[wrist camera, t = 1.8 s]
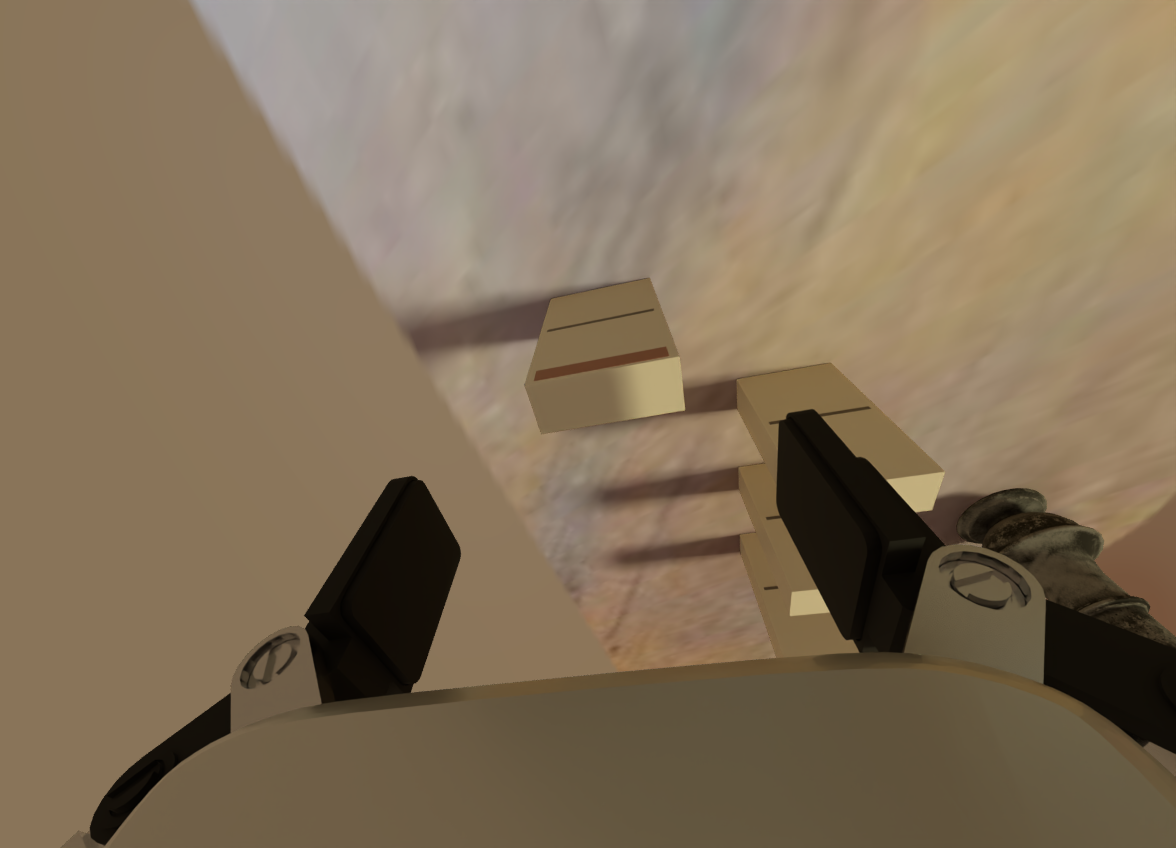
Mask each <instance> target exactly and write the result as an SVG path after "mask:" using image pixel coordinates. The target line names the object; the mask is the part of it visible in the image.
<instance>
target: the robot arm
mask: <svg viewBox="0 0 1176 848" xmlns="http://www.w3.org/2000/svg"><path fill="white" fill-rule="evenodd" d="M776 505H777V509H778V512H779V515H780V517H781V519H782V521H783V523H784V525H785V527H786V529H787V530H788V532H789V534H790V536H791V538H792V540H793V542H794V544H795V546H796V548H797V550H798V552H799V554H800V556H801V558H802V560H803V561H804V563H805V565H806V567H807V569H808V571H809V573H810V575H811V577H812V579H813V581H814V583H815V585H816V587H817V589H818V591H819V592H820V594H821V596H822V598H823V600H824V602H825V604H826V606H827V608H828V610H829V612H830V614H831V616H832V618H833V620H834V622H835V623H836V625H837V627H838V629H839V631H840V633H841V635H842V636H843V637H844V639H846V640H853V641H854V643H855V645H856V647H857V649H858V651H859V652H860V653H837V654H823V655H810V656H796V657H783V658H769V659H756V660H745V661H734V662H723V663H712V664H701V665H691V666H680V667H669V668H658V669H647V670H636V671H625V672H615V673H605V674H594V675H584V676H573V677H564V678H553V679H543V680H532V681H523V682H513V683H502V684H492V685H482V686H474V687H473V686H472V687H463V688H453V689H443V690H434V691H424V692H414V693H411V690H412V687H413V684H414V683H416V682H418V680H419V679H420V677H421V674H422V671H423V668H424V665H425V662H426V659H427V656H428V653H429V650H430V647H431V644H432V641H433V638H434V636H435V632H436V630H437V627H438V624H439V621H440V618H441V615H442V611H443V609H444V606H445V602H446V600H447V597H448V594H449V591H450V588H451V585H452V582H453V579H454V576H455V573H456V570H457V567H458V564H459V561H460V557H461V551H460V546H459V544H458V542H457V541H456V539H455V537H454V535H453V533H452V532H451V530H450V528H449V526H448V524H447V523H446V521H445V519H444V517H443V515H442V514H441V512H440V510H439V508H438V507H437V505H436V503H435V501H434V500H433V498H432V496H431V494H430V492H429V490H428V489H427V487H426V485H425V483H424V482H423V481H421V480H418V479H417V478H416V477H414V476H409V477H404V478H398V479H393V480H391V481H390V482H389V483H388V484H387V486H386V488H385V489H384V491H383V492H382V494H381V495H380V497H379V498H378V500H377V502H376V503H375V505H374V506H373V508H372V510H371V511H370V513H369V514H368V516H367V517H366V519H365V521H364V522H363V524H362V526H361V527H360V528H359V530H358V532H357V533H356V535H355V536H354V538H353V539H352V541H351V543H350V544H349V546H348V547H347V549H346V551H345V552H344V554H343V555H342V557H341V558H340V560H339V562H338V563H337V565H336V566H335V568H334V569H333V571H332V573H331V574H330V576H329V577H328V579H327V580H326V582H325V584H324V585H323V587H322V588H321V590H320V591H319V593H318V595H317V596H316V598H315V599H314V601H313V602H312V604H311V606H310V607H309V609H308V611H307V612H306V614H305V615H304V616H305V617H306V618H307V619H308V620H309V623H308V624H307V626H306V628H305V629H304V628H302V627H300V626H290V627H287V628H284V629H281V630H278V631H277V632H275V633H273V634H271V635H269V636H268V637H266V638H265V639H264V640H262V641H261V642H260V643H258V644H257V645H256V646H255V647H254V648H253V649H252V650H251V651H250V652H249V653H248V654H247V655H246V656H245V658H244V659H243V660H242V662H241V663H240V664H239V666H238V667H237V669H236V671H235V673H234V675H233V679H232V683H231V693H230V694H228V695H227V696H226V697H224V698H223V699H222V700H220V701H219V702H217V703H216V704H215V705H213V706H212V707H211V708H209V709H208V710H207V711H205V712H204V713H202V714H201V715H200V716H198V717H197V718H195V719H194V720H193V721H191V722H190V723H189V724H187V725H186V726H185V727H183V728H182V729H180V730H179V731H178V732H176V733H175V734H174V735H172V736H171V737H169V738H168V739H167V740H166V741H164V742H163V743H161V744H160V745H159V746H157V747H156V748H154V749H153V750H152V751H150V752H149V753H148V754H146V755H145V756H144V757H142V758H141V759H140V760H139V761H137V762H136V763H135V764H134V765H133V766H131V767H130V768H129V769H128V770H127V771H126V772H125V773H124V774H123V775H122V776H121V777H120V778H119V779H118V780H117V781H116V782H115V783H114V785H113V786H112V787H111V789H110V790H109V791H108V793H107V794H106V795H105V796H104V798H103V799H102V801H101V803H100V804H99V806H98V808H97V810H96V812H95V814H94V816H93V819H92V822H91V825H90V831H89V832H88V833H84V832H81V831H78V832H77V833H76V834H75V835H73V836H72V837H71V838H70V839H69V840H68V841H67V842H66V843H65V844H64V845H63V846H62V847H61V848H1176V649H1175V648H1172V647H1170V646H1167V645H1164V644H1162V643H1159V642H1156V641H1154V640H1151V639H1149V638H1146V637H1143V636H1141V635H1138V634H1136V633H1133V632H1130V631H1128V630H1125V629H1123V628H1120V627H1117V626H1115V625H1112V624H1109V623H1107V622H1104V621H1102V620H1099V619H1096V618H1094V617H1091V616H1089V615H1086V614H1083V613H1081V612H1078V611H1075V610H1073V609H1070V608H1068V607H1065V606H1062V605H1060V604H1057V603H1055V602H1052V601H1049V600H1047V599H1045V595H1044V591H1043V588H1042V586H1041V585H1040V584H1039V582H1038V581H1037V579H1036V578H1035V577H1034V576H1033V575H1032V574H1031V573H1030V572H1029V571H1027V570H1026V569H1025V568H1024V567H1023V566H1022V565H1020V564H1018V563H1017V562H1015V561H1013V560H1012V559H1010V558H1008V557H1006V556H1005V555H1002V554H1000V553H997V552H994V551H992V550H989V549H986V548H982V547H977V546H972V545H957V544H954V545H949V546H945V545H944V544H943V543H942V541H941V540H940V539H939V538H938V537H937V536H936V535H935V534H934V533H933V531H932V530H931V529H930V528H929V527H928V526H927V525H926V524H925V523H924V521H923V520H922V519H921V518H920V517H919V516H918V515H917V514H916V513H915V511H914V510H913V509H912V508H911V507H910V506H909V505H908V504H907V503H906V502H905V500H904V499H903V498H902V497H901V496H900V495H899V494H898V493H897V492H896V490H895V489H894V488H893V487H892V486H891V485H890V484H889V483H888V482H887V480H886V479H885V478H884V477H883V476H882V475H881V474H880V473H879V472H878V470H877V469H876V468H875V467H874V466H873V465H872V464H871V463H870V462H869V461H868V460H867V459H866V458H863V457H856V456H855V455H854V454H853V453H852V451H851V450H850V449H849V448H848V447H847V446H846V445H845V443H844V442H843V441H842V440H841V439H840V438H839V437H838V435H837V434H836V433H835V432H834V431H833V430H832V429H831V427H830V426H829V425H828V424H827V423H826V422H825V421H824V419H823V418H822V417H821V416H820V415H819V414H818V412H817V411H815V410H814V409H809V410H803V411H797V412H791V413H788V414H787V416H786V419H785V420H780V422H779V429H778V457H777V486H776Z"/></svg>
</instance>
